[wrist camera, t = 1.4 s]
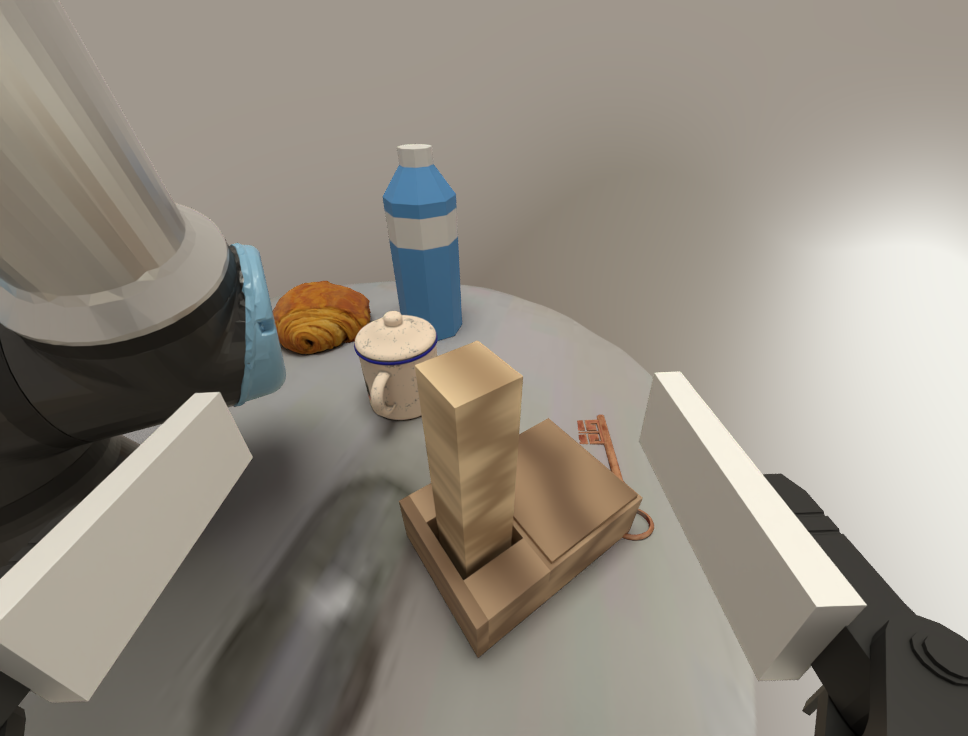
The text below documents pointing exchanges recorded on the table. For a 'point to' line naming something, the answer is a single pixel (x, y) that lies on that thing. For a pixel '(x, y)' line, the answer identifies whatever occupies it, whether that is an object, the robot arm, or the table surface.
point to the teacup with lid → (395, 362)
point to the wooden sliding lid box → (529, 535)
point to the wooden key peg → (471, 450)
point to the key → (611, 458)
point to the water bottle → (424, 240)
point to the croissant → (320, 316)
